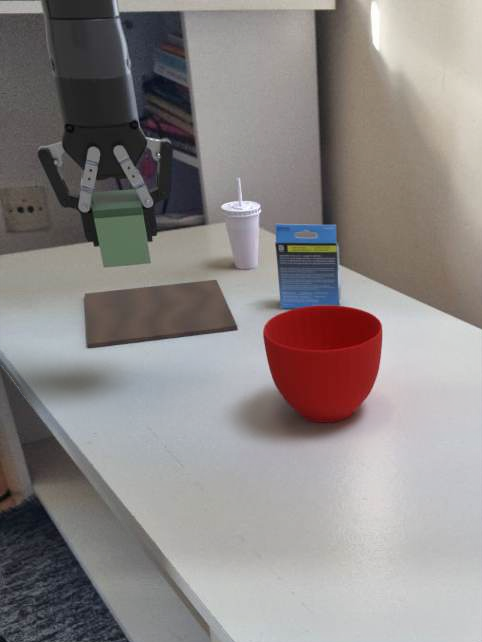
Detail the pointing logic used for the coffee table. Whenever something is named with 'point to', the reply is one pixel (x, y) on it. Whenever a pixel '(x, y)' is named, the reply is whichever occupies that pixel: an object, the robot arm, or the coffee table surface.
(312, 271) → the label tape box
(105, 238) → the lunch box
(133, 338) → the walnut board
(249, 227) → the smoothie
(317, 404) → the ceramic cup
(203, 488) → the coffee table surface
